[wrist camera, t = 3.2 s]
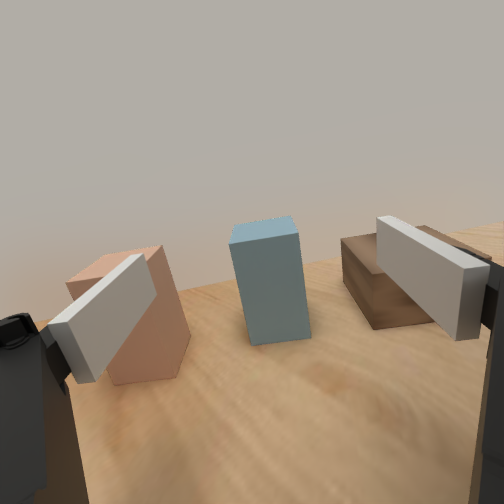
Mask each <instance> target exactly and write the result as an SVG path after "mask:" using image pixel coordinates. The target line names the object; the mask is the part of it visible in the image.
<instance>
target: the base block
mask: <svg viewBox="0 0 504 504" xmlns="http://www.w3.org/2000/svg"><path fill="white" fill-rule="evenodd" d="M415 228H417V229H419V230H421V231H423V232H425V233H427V234H429V235H431V236H433V237H435V238H437V239H439V240H441V241H443V242H445V243H447V244H449V245H453V246H456V247H460V248H464V249H467V250H469V251H471V252H473V253H475V254H476V255H480V256H482V257H484V259H488V260H490V261H491V259H492V257H491V256H489V255H487V254H485V253H482V252H480V251H478V250H476V249H474V248H472V247H470V246H468V245H465V244H463V243H461V242H459V241H457V240H455V239H453V238H451V237H449V236H446V235H444V234H442V233H440V232H438V231H436V230H433V229H432V228H429V227H427V226H425V225H424V226H417V227H415ZM341 254H342V269H343V282H344V283H345V285H346V287H347V288H348V290H349V291H350V293H351V295H352V296H353V298H354V299H355V301H356V303H357V304H358V306H359V307H360V309H361V310H362V312H363V314H364V315H365V317H366V318H367V320H368V322H369V323H370V325H371V326H372V328H373V330H375V329H383V328H390V327H398V326H406V325H414V324H421V323H429V322H435V321H434V320H433V319H432V318H431V317H430V316H429V315H428V314H427V313H426V312H425V311H424V310H423V309H422V308H421V307H420V306H419V305H418V304H417V303H416V302H415V301H414V300H413V299H412V298H411V297H410V296H409V295H408V294H407V293H406V292H405V291H404V290H403V289H402V288H401V287H399V286H398V285H397V284H396V283H395V282H394V281H393V280H392V279H391V278H390V277H389V276H388V275H387V274H386V273H385V272H384V271H383V270H382V269H381V268H380V267H379V266H378V265H377V233H373V234H367V235H361V236H354V237H348V238H342V239H341Z"/></svg>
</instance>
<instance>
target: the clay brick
mask: <svg viewBox="0 0 504 504" xmlns="http://www.w3.org/2000/svg"><path fill="white" fill-rule="evenodd" d="M140 253H144V256H145V259H146V262H147V265H148V268H149V271H150V274H151V278H152V281H153V284H154V287H155V290H156V293H157V295H156V297H155V298H154V300H153V301H152V303H151V304H150V305H149V307H148V308H147V310H146V311H145V313H144V314H143V315H142V317H141V318H140V320H139V321H138V323H137V324H136V325H135V327H134V328H133V330H132V331H131V333H130V334H129V336H128V337H127V338H126V340H125V341H124V343H123V344H122V346H121V347H120V348H119V350H118V351H117V353H116V354H115V356H114V357H113V358H112V360H111V361H110V363H109V364H108V366H107V367H106V369H107V371H108V373H109V375H110V377H111V379H112V381H113V383H114V385H121V384H130V383H138V382H146V381H154V380H163V379H171V378H176V376H177V373H178V370H179V368H180V365H181V362H182V359H183V356H184V354H185V351H186V348H187V345H188V342H189V340H190V337H191V334H190V331H189V328H188V325H187V322H186V318H185V315H184V312H183V309H182V306H181V303H180V300H179V296H178V293H177V290H176V287H175V284H174V281H173V278H172V274H171V271H170V268H169V265H168V262H167V259H166V256H165V253H164V249H163V246H162V245H160V246H154V247H148V248H142V249H136V250H130V251H124V252H118V253H112V254H106V255H104V256H102V257H101V258H100V259H98V260H97V261H95V262H94V263H92V264H91V265H90V266H88V267H87V268H85V269H84V270H83V271H81V272H80V273H78V274H77V275H75V276H74V277H73V278H71V279H70V280H68V281H67V282H66V285H67V287H68V289H69V292H70V294H71V296H72V298H73V300H74V301H76V300H77V299H78V298H79V297H81V296H82V295H83V294H84V293H85V292H87V291H88V290H89V289H90V288H91V287H93V286H94V285H95V284H96V283H97V282H99V281H100V280H101V279H102V278H103V277H105V276H106V275H107V274H108V273H110V272H111V271H112V270H113V269H114V268H116V267H117V266H118V265H119V264H120V263H122V262H123V261H124V260H125V259H126V258H128V257H129V256H130V255H133V254H140Z"/></svg>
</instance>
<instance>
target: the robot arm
mask: <svg viewBox="0 0 504 504" xmlns="http://www.w3.org/2000/svg"><path fill="white" fill-rule="evenodd" d="M377 265H378V266H379V267H380V268H381V269H382V270H383V271H384V272H385V273H386V274H387V275H388V276H389V277H390V278H391V279H392V280H393V281H394V282H395V283H396V284H397V285H398V286H399V287H401V288H402V289H403V290H404V291H405V292H406V293H407V294H408V295H409V296H410V297H411V298H412V299H413V300H414V301H415V302H416V303H417V304H418V305H419V306H420V307H421V308H422V309H423V310H424V311H425V312H426V313H427V314H428V315H429V316H430V317H431V318H432V319H433V320H434V321H435V322H436V323H437V324H438V325H439V326H440V327H441V328H442V329H444V330H445V331H446V332H447V333H448V334H449V335H450V336H451V337H452V338H453V339H454V340H455V341H461V340H470V339H478V338H479V334H480V328H481V323H482V324H483V325H485V326H486V327H487V328H489V329H490V330H491V334H490V340H489V346H488V351H487V357H486V358H487V363H486V371H485V379H484V386H483V394H482V402H481V410H480V417H479V425H478V433H477V441H476V448H475V456H474V464H473V472H472V480H471V487H470V495H469V503H468V504H504V267H502V266H500V265H498V264H496V263H494V262H492V261H490V260H488V259H484V257H482V256H480V255H476V254H475V253H473V252H471V251H469V250H467V249H464V248H460V247H456V246H453V245H449V244H447V243H445V242H443V241H441V240H439V239H437V238H435V237H433V236H431V235H429V234H427V233H425V232H423V231H421V230H419V229H417V228H415V227H413V226H411V225H409V224H407V223H405V222H403V221H401V220H399V219H397V218H395V217H393V216H384V217H378V218H377ZM156 295H157V293H156V290H155V287H154V284H153V281H152V278H151V274H150V271H149V268H148V265H147V262H146V259H145V256H144V253H140V254H133V255H130V256H129V257H128V258H126V259H125V260H124V261H123V262H122V263H120V264H119V265H118V266H117V267H116V268H114V269H113V270H112V271H111V272H110V273H108V274H107V275H106V276H105V277H103V278H102V279H101V280H100V281H99V282H97V283H96V284H95V285H94V286H93V287H91V288H90V289H89V290H88V291H87V292H85V293H84V294H83V295H82V296H81V297H79V298H78V299H77V300H76V301H74V302H73V303H72V304H71V305H70V306H69V307H67V308H66V309H65V310H64V311H63V312H61V313H60V314H59V315H58V316H56V317H55V318H54V319H53V320H52V321H50V322H49V323H48V324H47V326H46V327H45V328H43V329H42V330H41V331H40V332H38V330H37V328H36V326H35V324H34V322H33V320H32V318H31V317H30V315H29V314H28V313H20V314H16V315H12V316H9V317H6V318H4V319H2V320H0V504H89V499H88V494H87V488H86V483H85V477H84V471H83V466H82V460H81V455H80V449H79V444H78V438H77V433H76V427H75V421H74V416H73V410H72V405H71V399H70V394H69V388H68V386H67V384H66V382H65V379H66V377H67V376H68V375H69V374H70V373H71V372H72V374H73V376H74V378H75V380H76V382H77V384H82V383H90V382H96V381H97V380H98V378H99V377H100V376H101V374H102V373H103V371H104V370H105V368H106V367H107V366H108V364H109V363H110V361H111V360H112V358H113V357H114V356H115V354H116V353H117V351H118V350H119V348H120V347H121V346H122V344H123V343H124V341H125V340H126V338H127V337H128V336H129V334H130V333H131V331H132V330H133V328H134V327H135V325H136V324H137V323H138V321H139V320H140V318H141V317H142V315H143V314H144V313H145V311H146V310H147V308H148V307H149V305H150V304H151V303H152V301H153V300H154V298H155V297H156Z"/></svg>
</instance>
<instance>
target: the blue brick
mask: <svg viewBox="0 0 504 504" xmlns="http://www.w3.org/2000/svg"><path fill="white" fill-rule="evenodd" d="M229 247H230V252H231V257H232V261H233V265H234V270H235V274H236V279H237V284H238V288H239V293H240V297H241V302H242V306H243V311H244V315H245V320H246V324H247V329H248V333H249V338H250V342H251V346H254V345H262V344H270V343H278V342H285V341H293V340H301V339H309V338H311V331H310V323H309V315H308V307H307V299H306V291H305V282H304V274H303V266H302V258H301V250H300V241H299V233H298V231H297V229H296V227H295V224H294V222H293V220H292V218H291V216H286V217H280V218H274V219H268V220H262V221H256V222H250V223H244V224H239V225H234V228H233V232H232V235H231V239H230V241H229Z"/></svg>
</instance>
